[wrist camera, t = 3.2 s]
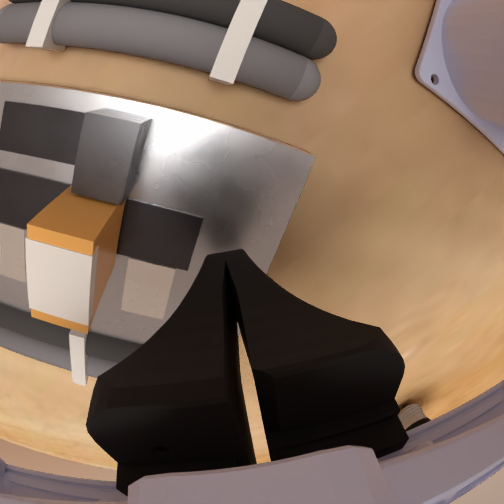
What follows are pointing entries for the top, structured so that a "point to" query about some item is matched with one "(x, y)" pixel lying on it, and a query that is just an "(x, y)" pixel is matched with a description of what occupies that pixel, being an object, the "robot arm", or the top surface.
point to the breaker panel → (141, 193)
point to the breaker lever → (71, 258)
